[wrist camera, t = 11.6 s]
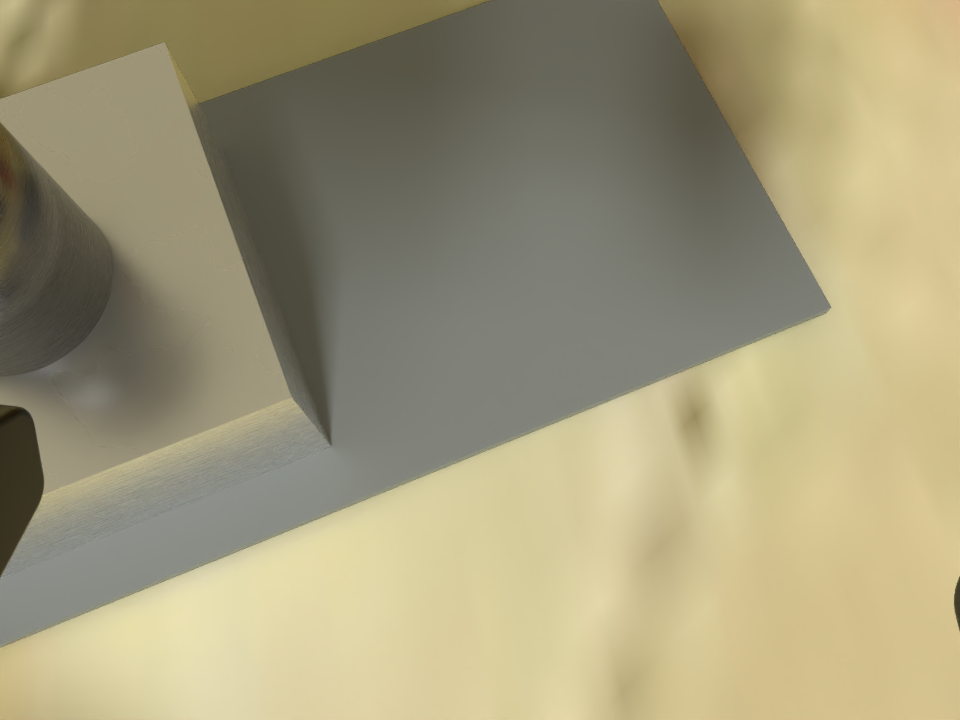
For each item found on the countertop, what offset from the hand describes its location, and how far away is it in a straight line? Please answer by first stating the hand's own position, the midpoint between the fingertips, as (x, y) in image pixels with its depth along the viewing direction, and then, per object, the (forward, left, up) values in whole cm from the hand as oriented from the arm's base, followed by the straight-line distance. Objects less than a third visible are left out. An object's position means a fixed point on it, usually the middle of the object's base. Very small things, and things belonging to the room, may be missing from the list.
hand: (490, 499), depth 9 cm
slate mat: (+2, +9, -14) cm, 16 cm away
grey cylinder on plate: (-3, +11, -13) cm, 17 cm away
